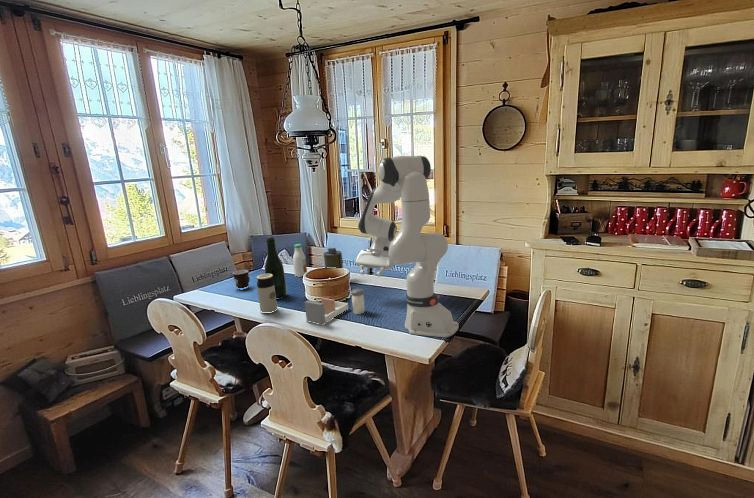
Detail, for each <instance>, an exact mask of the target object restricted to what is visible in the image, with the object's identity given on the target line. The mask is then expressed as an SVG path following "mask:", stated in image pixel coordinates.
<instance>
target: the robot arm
mask: <svg viewBox="0 0 754 498" xmlns="http://www.w3.org/2000/svg"><path fill="white" fill-rule="evenodd" d="M431 167H432V166H431V163H430V161H429V159H428V157H426V156H424V155H423V156H422V155H397V156H393V157H390V156H387V157H385V158H382V159H381V160H380V161H379V163H378V166H377V174H378V178H379V180H380V181H379V185H378V186H377V187H376V186H375V187H373V188H372V190H371V191H370V193H369V196H368V198H367V200H366V204H365V207H364V209H363V212H362V214H361V215H360V216H361V217H360V218H359V220H358V225H357V228H358V230H359V231H360V233H361V234H365V235H370V236H374V240H373V241H372V243H371V245H370V248H369V249H362V250H360V251H359V254H358V255H357V256H356V258H355V261H354V262H355V264H356V265H357V267H359V269H360V271H359V274H360V275H362V276H363V275H365V271H364V269H365V268H369V269H380V270H379V271H376V275H375V276H376V277H379V278H380V277H381V276H382V274H383V273H384V272H385V270H389V271H391V270H392V269H393V268H394V266H395V265H411V264H415V265H414V266H413V269H411V270H410V271H409V272H408V273H407V275H406V278H405V279H406V293H405V300H406V301H405V302H406V303H405V304H406V317H405V322H404V329H406V330H408V332H409V334H410V335H415V336H416V335H419V336H426V337H437V338H449V337H451V336H453V335H454V334H456V332H457V331H458V330H459V327H460V325H459V322H457V321H454V319H453V314H452V312H451V311H450V310H449V309H447V308H446V307H445V306H444V305H442V304H441V303H440V302H439V299H440V294H438V295H436V294H435V292H434V291H435V290H434V289H435V287H434V286H435V284H434V280H435V273H436V269H437V267H438V265H439V263H440V261H441V259H442V258H443V257H444V256H445V255H446V254H447V252H448V248H449V244H448V240H447V237H445V235H444V234H442V233H440V232H439V233H438V232H427V233H421V231H422V228H423V227H424V226H425V225H427V224H428V223H429V221H430V220H431V205H430V193H429V187H428V186H429V185H428V182H427V179H428V178H429V177H430V175H431V173H432V172H431V170H432V168H431ZM398 200H401V201H400V202H401V218H402V219H401V225H400V228H399V231H398V232H397V230H398V226H397V225H396V222H395V221H394V220H391V219H389V218H388V219H387V218H384V217H381V216H377V215H374V214H373V212H374V208H375V206H376V205H378V204H390V203H391V204H392V203H395V202H397V201H398ZM396 234H397V235H396Z"/></svg>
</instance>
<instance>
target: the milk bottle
mask: <svg viewBox="0 0 754 498" xmlns="http://www.w3.org/2000/svg"><path fill="white" fill-rule="evenodd" d="M293 247H294V253H293V256H292V260H293V271H294V277H296V276H297V277H296V278H303V277H302V276H303V275H304V274H305V273H306V272H307V273H308V267H307V261H306V260H307V259H306V255H305V253H304V251H303V246H302V244H301V243H296V244H295V243H294V245H293Z"/></svg>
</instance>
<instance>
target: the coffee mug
mask: <svg viewBox="0 0 754 498" xmlns="http://www.w3.org/2000/svg"><path fill="white" fill-rule="evenodd" d="M232 274H233V275H232V276H233V279H234V283H235V285H236V288H237V287H238V288H244V287H247V286H250V285H249V282H251V281H250V280H251V279H250V276H249V270H248V269H240V270H235V271H233V272H232Z"/></svg>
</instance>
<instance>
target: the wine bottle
mask: <svg viewBox="0 0 754 498" xmlns="http://www.w3.org/2000/svg"><path fill="white" fill-rule="evenodd" d="M266 248H267V249H266V250H267V255H266V261H265V264H264V274H272V275H273V276H272V279H273V281H274V286H275V294H276V298H281V297H284V296H286V295H287V296H288V289H287V288H288V287H287V282H286V281H287V280H286V275H285V268H284V265H283V262H282V260H281V259H280V256H279V254H278V251H277V247H276V239H275V238H274V235H273V236H272V235H270V236H267V237H266ZM287 296H286V297H287ZM284 298H285V297H284Z"/></svg>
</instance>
